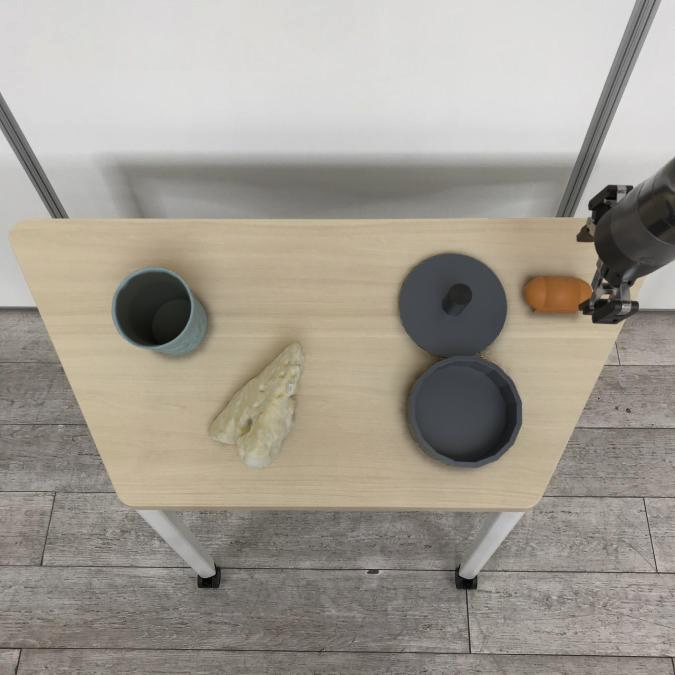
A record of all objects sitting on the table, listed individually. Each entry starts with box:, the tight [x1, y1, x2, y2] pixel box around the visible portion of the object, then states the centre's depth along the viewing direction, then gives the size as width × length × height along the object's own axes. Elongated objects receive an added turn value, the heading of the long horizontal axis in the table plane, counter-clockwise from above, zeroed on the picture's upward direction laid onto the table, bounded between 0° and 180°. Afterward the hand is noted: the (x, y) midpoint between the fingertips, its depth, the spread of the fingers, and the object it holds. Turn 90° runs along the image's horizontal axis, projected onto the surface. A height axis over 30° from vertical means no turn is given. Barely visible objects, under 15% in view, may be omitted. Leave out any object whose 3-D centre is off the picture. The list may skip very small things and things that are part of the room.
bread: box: [523, 276, 593, 315], centre depth 83 cm, size 9×4×4 cm, turn 88°
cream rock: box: [207, 341, 306, 469], centre depth 80 cm, size 15×7×15 cm
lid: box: [398, 253, 508, 359], centre depth 82 cm, size 15×15×7 cm
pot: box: [405, 355, 523, 469], centre depth 80 cm, size 14×14×6 cm
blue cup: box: [110, 266, 209, 356], centre depth 80 cm, size 10×10×12 cm
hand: (585, 273), depth 73 cm, fingers open, 8 cm apart
